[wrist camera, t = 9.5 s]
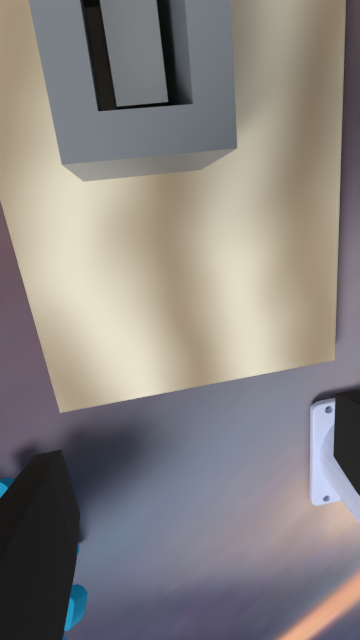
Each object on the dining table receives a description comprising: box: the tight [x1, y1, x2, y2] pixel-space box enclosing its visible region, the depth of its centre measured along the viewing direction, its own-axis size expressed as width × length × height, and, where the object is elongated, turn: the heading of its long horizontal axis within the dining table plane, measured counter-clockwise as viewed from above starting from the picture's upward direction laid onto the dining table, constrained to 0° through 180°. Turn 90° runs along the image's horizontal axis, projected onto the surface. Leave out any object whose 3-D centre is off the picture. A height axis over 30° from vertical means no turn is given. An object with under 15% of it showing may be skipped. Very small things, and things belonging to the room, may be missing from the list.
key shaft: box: [98, 0, 168, 110], centre depth 11 cm, size 2×4×4 cm, turn 7°
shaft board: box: [0, 0, 346, 413], centre depth 15 cm, size 15×20×1 cm
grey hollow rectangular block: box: [29, 0, 237, 182], centre depth 11 cm, size 5×7×5 cm
